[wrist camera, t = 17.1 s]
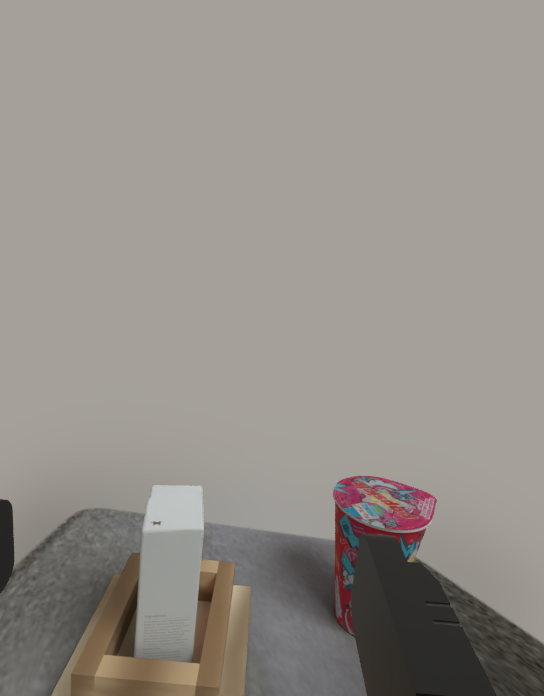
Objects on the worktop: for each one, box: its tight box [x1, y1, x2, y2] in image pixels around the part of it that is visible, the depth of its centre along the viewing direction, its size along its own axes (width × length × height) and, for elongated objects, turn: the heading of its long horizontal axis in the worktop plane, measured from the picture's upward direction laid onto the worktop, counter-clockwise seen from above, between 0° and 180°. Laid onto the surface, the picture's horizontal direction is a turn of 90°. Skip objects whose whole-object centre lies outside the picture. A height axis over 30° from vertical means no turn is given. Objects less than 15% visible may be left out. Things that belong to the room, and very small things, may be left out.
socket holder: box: [51, 553, 252, 696], centre depth 32 cm, size 13×13×4 cm
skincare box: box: [134, 485, 204, 663], centre depth 31 cm, size 6×4×12 cm
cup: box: [333, 476, 437, 636], centre depth 38 cm, size 9×8×12 cm
